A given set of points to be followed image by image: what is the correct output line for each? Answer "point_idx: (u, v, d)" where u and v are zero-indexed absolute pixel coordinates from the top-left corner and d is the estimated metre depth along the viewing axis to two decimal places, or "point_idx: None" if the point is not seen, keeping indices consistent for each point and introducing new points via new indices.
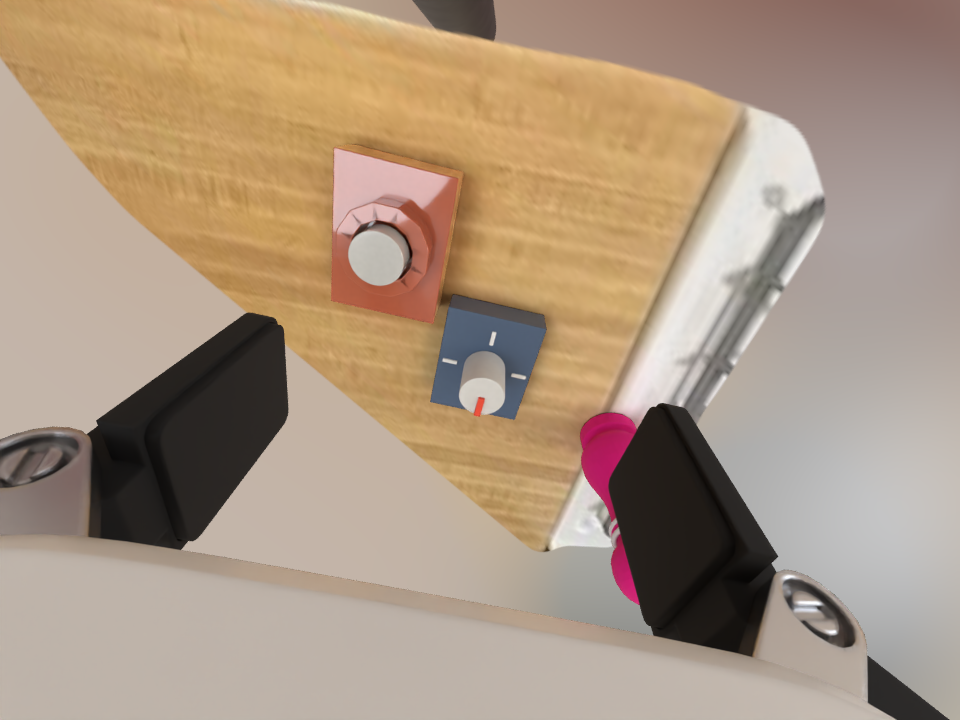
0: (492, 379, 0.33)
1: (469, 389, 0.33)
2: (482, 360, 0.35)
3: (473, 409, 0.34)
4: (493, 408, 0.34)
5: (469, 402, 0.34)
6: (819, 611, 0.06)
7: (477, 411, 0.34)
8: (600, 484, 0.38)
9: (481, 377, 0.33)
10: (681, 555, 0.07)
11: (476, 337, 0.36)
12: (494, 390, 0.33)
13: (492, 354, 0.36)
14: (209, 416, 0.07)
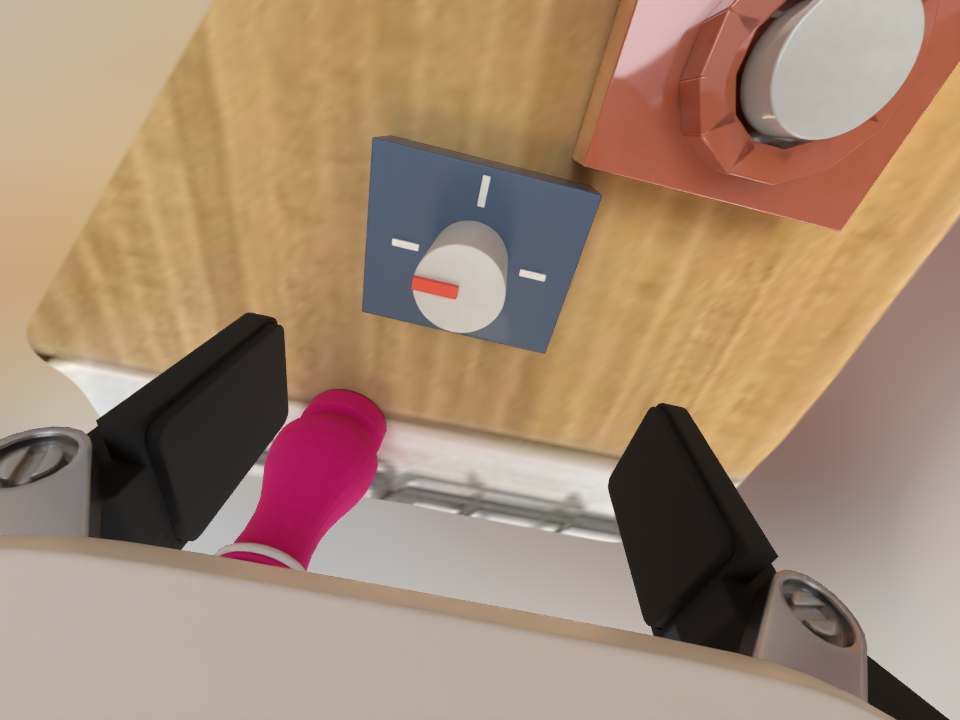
0: (501, 309, 0.17)
1: (475, 267, 0.16)
2: None
3: (424, 274, 0.16)
4: (432, 313, 0.17)
5: (442, 266, 0.16)
6: (819, 611, 0.06)
7: (425, 284, 0.16)
8: (298, 476, 0.23)
9: None
10: (681, 555, 0.07)
11: (535, 245, 0.20)
12: (476, 315, 0.17)
13: None
14: (209, 416, 0.07)
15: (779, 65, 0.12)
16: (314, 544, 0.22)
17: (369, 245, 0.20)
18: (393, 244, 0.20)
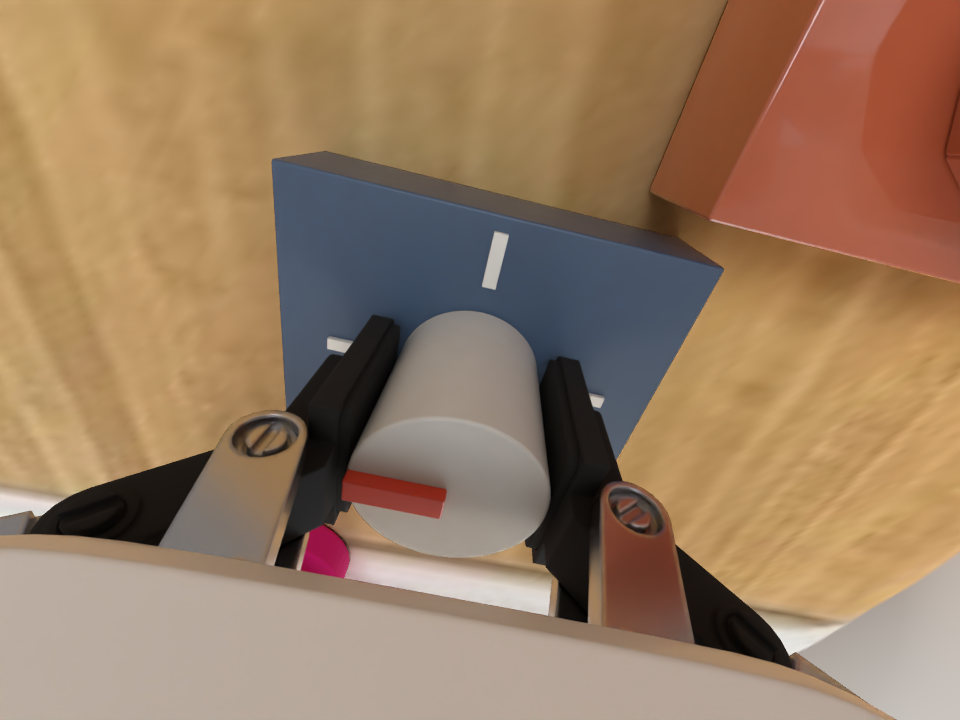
0: (536, 524, 0.08)
1: (483, 460, 0.07)
2: None
3: (369, 468, 0.07)
4: (391, 528, 0.08)
5: (409, 455, 0.07)
6: (636, 508, 0.07)
7: (372, 493, 0.07)
8: None
9: (550, 496, 0.07)
10: None
11: (587, 351, 0.11)
12: (484, 534, 0.08)
13: None
14: (367, 403, 0.08)
15: None
16: None
17: (288, 348, 0.11)
18: (330, 348, 0.11)
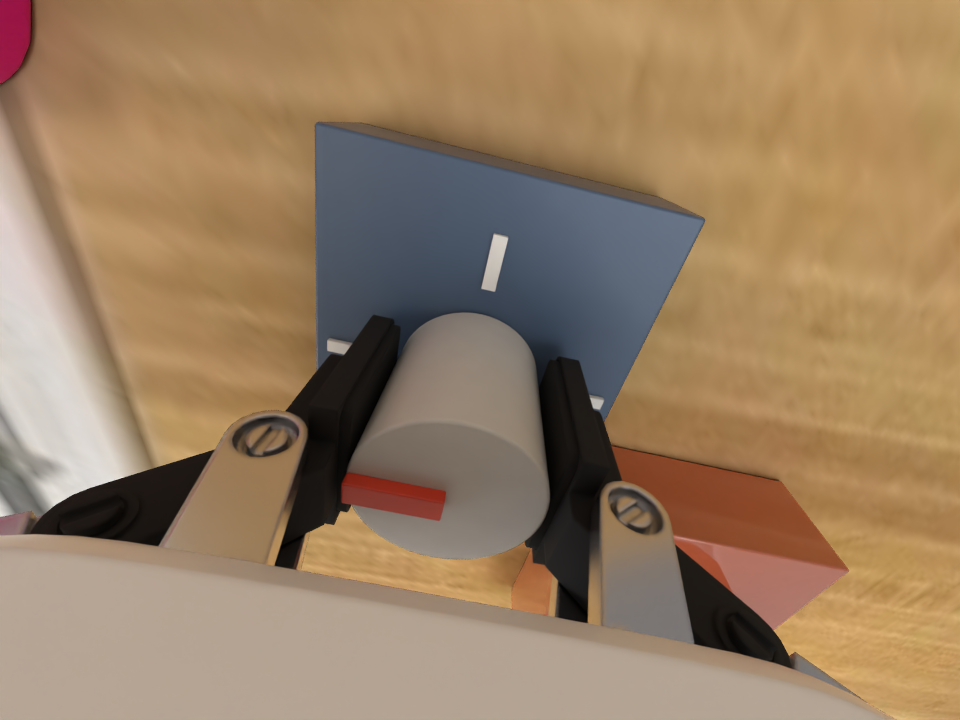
0: (537, 524, 0.08)
1: (482, 461, 0.07)
2: None
3: (369, 470, 0.07)
4: (391, 530, 0.08)
5: (407, 458, 0.07)
6: (636, 508, 0.07)
7: (371, 496, 0.07)
8: None
9: None
10: None
11: None
12: (485, 536, 0.08)
13: None
14: (367, 404, 0.08)
15: None
16: None
17: (490, 175, 0.09)
18: (494, 238, 0.09)
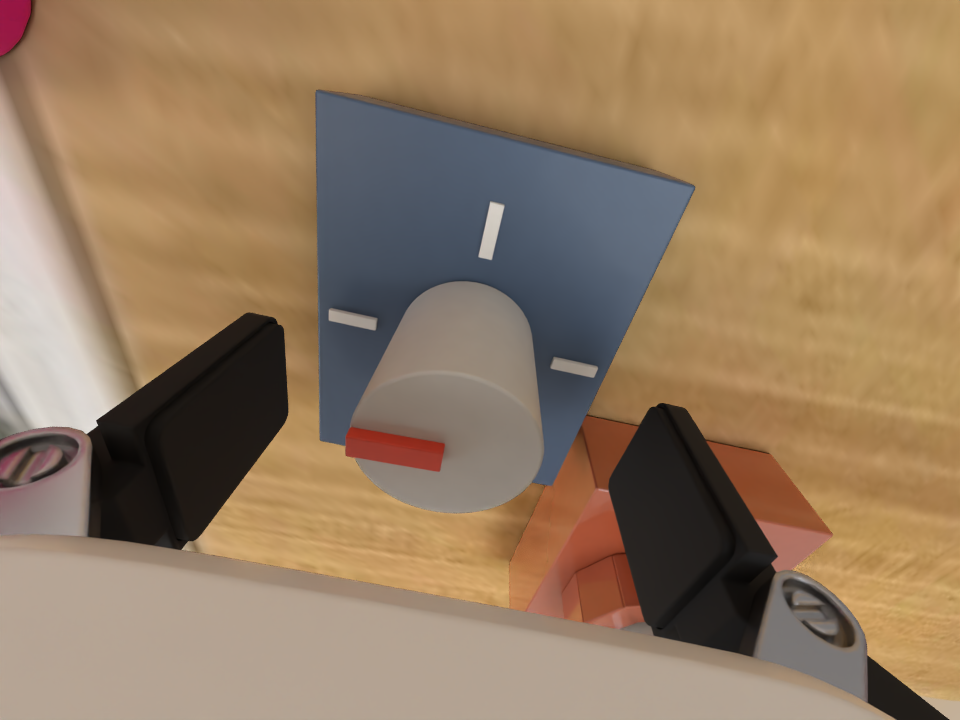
0: (532, 476, 0.08)
1: (478, 413, 0.07)
2: None
3: (371, 424, 0.08)
4: (394, 485, 0.09)
5: (407, 410, 0.07)
6: (819, 611, 0.06)
7: (373, 448, 0.08)
8: None
9: None
10: (681, 555, 0.07)
11: None
12: (483, 488, 0.08)
13: None
14: (209, 416, 0.07)
15: None
16: None
17: (486, 142, 0.09)
18: (491, 206, 0.09)
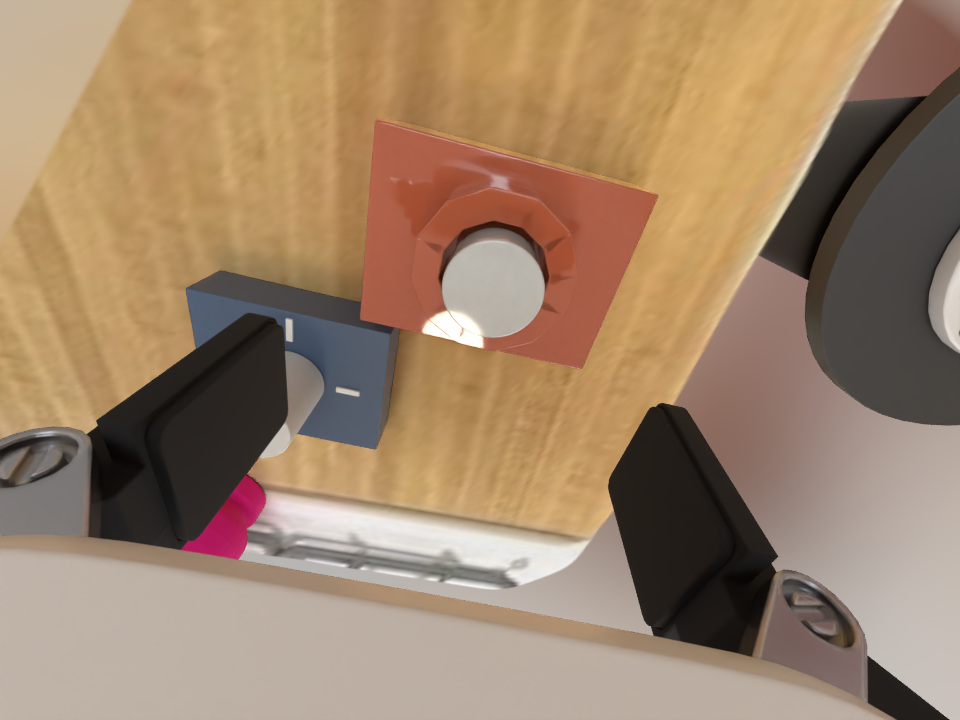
0: None
1: None
2: None
3: None
4: (277, 447, 0.20)
5: None
6: (819, 611, 0.06)
7: None
8: None
9: None
10: (681, 555, 0.07)
11: (344, 369, 0.23)
12: None
13: (292, 355, 0.22)
14: (209, 416, 0.07)
15: (445, 291, 0.15)
16: None
17: None
18: None
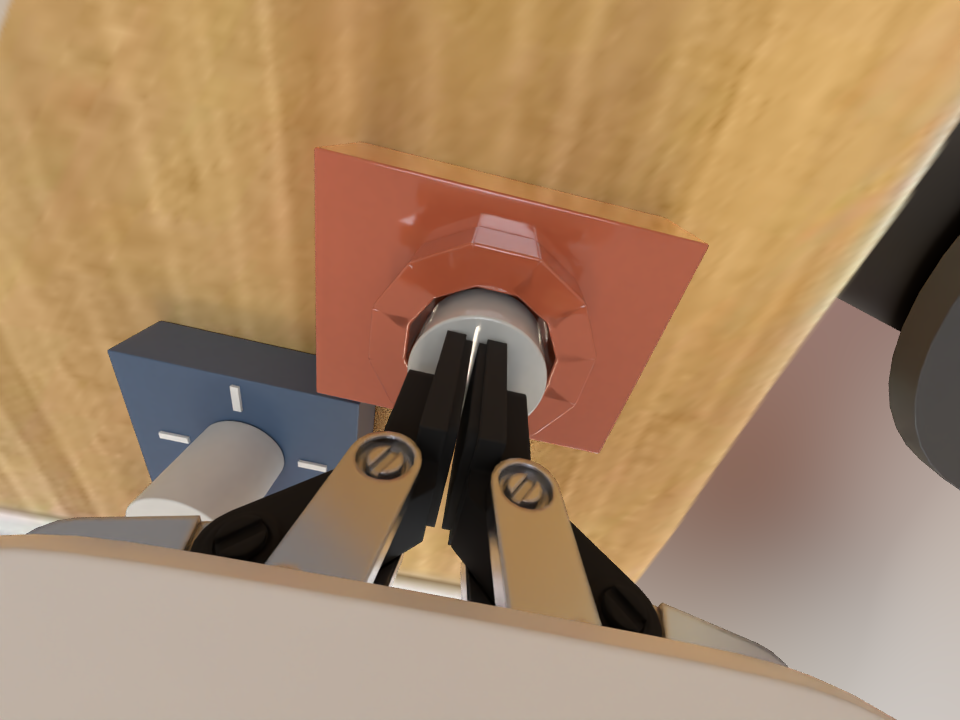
0: (180, 499, 0.15)
1: None
2: (200, 447, 0.17)
3: None
4: None
5: None
6: (526, 482, 0.07)
7: None
8: None
9: (154, 496, 0.14)
10: (458, 459, 0.08)
11: (306, 442, 0.19)
12: None
13: (241, 428, 0.18)
14: None
15: None
16: None
17: (139, 436, 0.19)
18: (161, 437, 0.19)
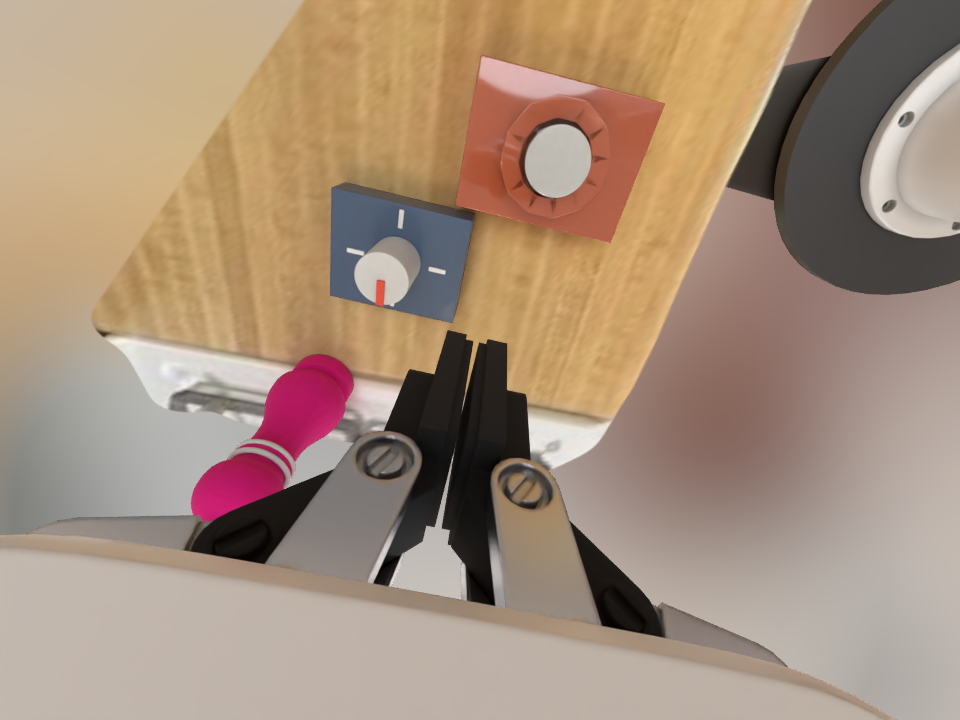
0: (389, 253, 0.27)
1: (365, 270, 0.28)
2: (385, 242, 0.29)
3: (374, 298, 0.29)
4: (397, 295, 0.29)
5: (368, 288, 0.29)
6: (526, 482, 0.07)
7: (378, 298, 0.29)
8: (288, 405, 0.34)
9: (376, 251, 0.27)
10: (458, 459, 0.08)
11: (436, 251, 0.31)
12: (394, 269, 0.28)
13: (401, 239, 0.31)
14: None
15: (527, 162, 0.24)
16: (299, 448, 0.33)
17: (332, 252, 0.32)
18: (347, 251, 0.32)
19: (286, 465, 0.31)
